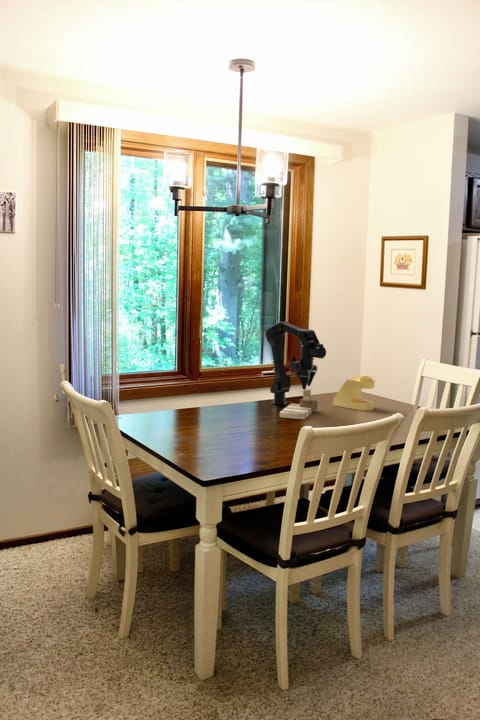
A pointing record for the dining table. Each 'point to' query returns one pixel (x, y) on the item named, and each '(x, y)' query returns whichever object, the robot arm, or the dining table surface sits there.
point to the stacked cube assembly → (308, 400)
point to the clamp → (354, 394)
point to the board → (296, 411)
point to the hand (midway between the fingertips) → (306, 387)
